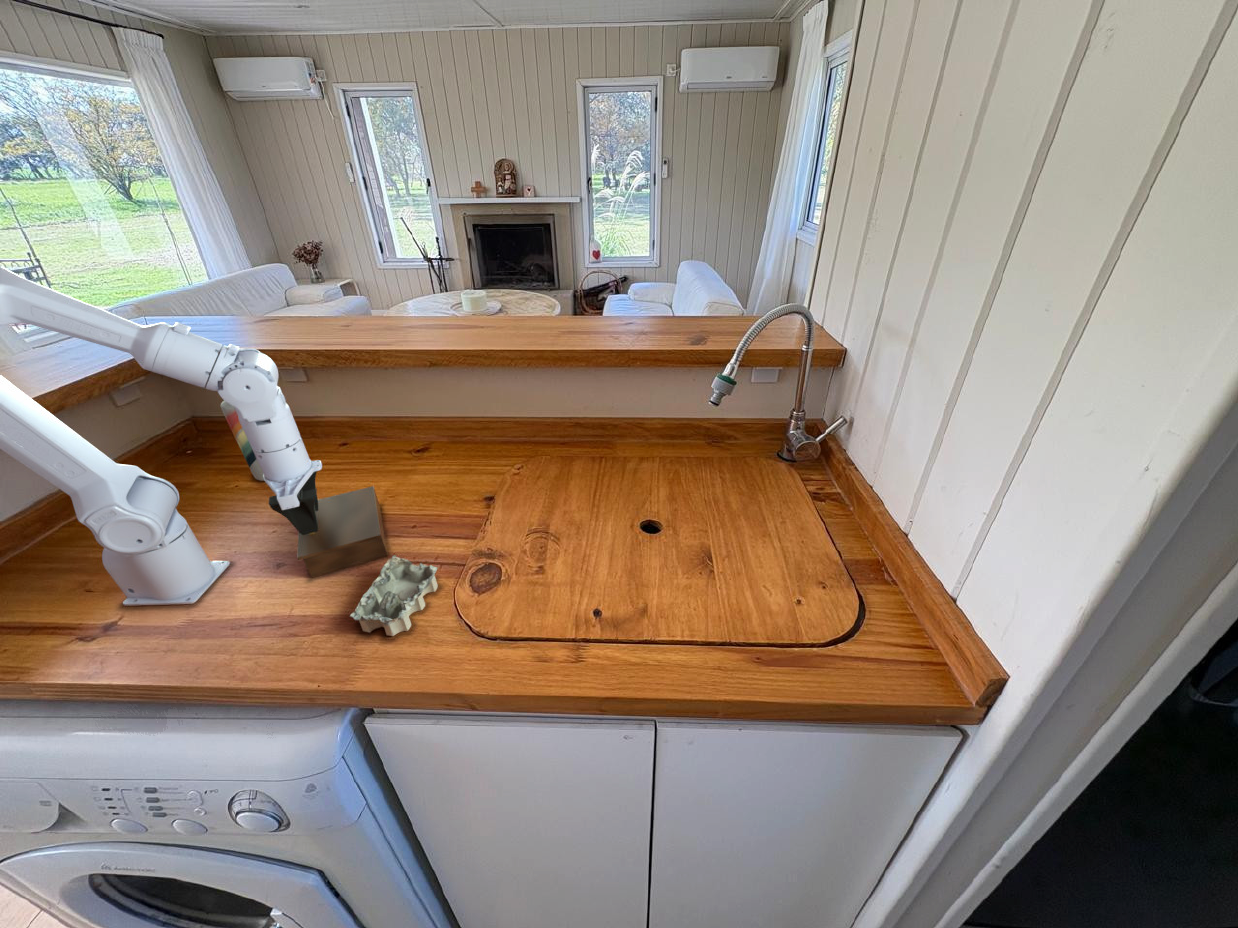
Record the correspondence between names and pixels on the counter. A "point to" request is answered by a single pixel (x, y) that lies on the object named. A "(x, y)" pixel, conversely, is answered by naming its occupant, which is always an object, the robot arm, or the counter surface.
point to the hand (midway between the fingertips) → (310, 521)
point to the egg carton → (395, 596)
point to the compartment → (348, 554)
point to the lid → (342, 523)
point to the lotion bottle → (242, 440)
